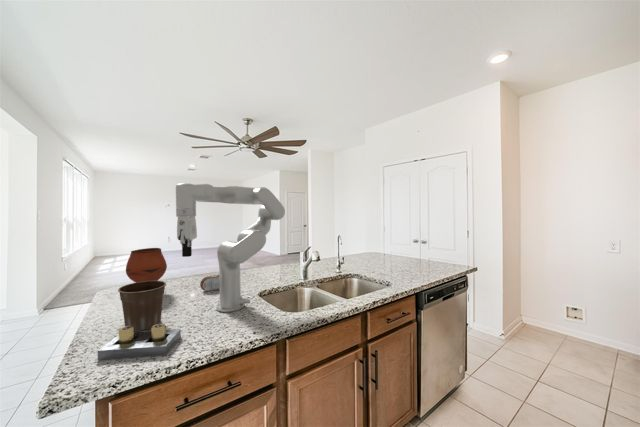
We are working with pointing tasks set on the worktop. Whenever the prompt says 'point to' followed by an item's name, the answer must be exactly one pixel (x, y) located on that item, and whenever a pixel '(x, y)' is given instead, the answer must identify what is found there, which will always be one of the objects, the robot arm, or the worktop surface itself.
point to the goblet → (146, 265)
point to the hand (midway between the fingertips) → (187, 256)
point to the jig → (137, 344)
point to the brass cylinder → (158, 333)
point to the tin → (210, 283)
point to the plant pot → (142, 304)
